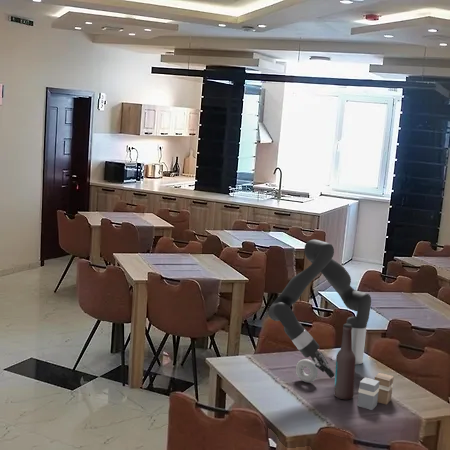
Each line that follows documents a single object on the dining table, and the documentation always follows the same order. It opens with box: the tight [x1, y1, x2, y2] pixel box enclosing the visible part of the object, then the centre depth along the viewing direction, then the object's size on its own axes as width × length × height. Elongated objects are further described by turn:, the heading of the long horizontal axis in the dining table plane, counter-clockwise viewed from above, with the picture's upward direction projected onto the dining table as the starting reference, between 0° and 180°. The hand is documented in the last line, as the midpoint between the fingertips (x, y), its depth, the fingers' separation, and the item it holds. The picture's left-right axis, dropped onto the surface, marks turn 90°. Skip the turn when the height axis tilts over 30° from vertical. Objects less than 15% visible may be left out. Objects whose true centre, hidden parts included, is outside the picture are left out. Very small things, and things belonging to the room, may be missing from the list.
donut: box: [295, 358, 319, 383], centre depth 286 cm, size 10×4×10 cm, turn 57°
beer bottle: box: [334, 323, 356, 401], centre depth 273 cm, size 8×8×30 cm
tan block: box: [373, 372, 395, 405], centre depth 273 cm, size 6×6×10 cm
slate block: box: [356, 377, 380, 411], centre depth 267 cm, size 6×6×10 cm
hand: (332, 376), depth 274 cm, fingers closed
